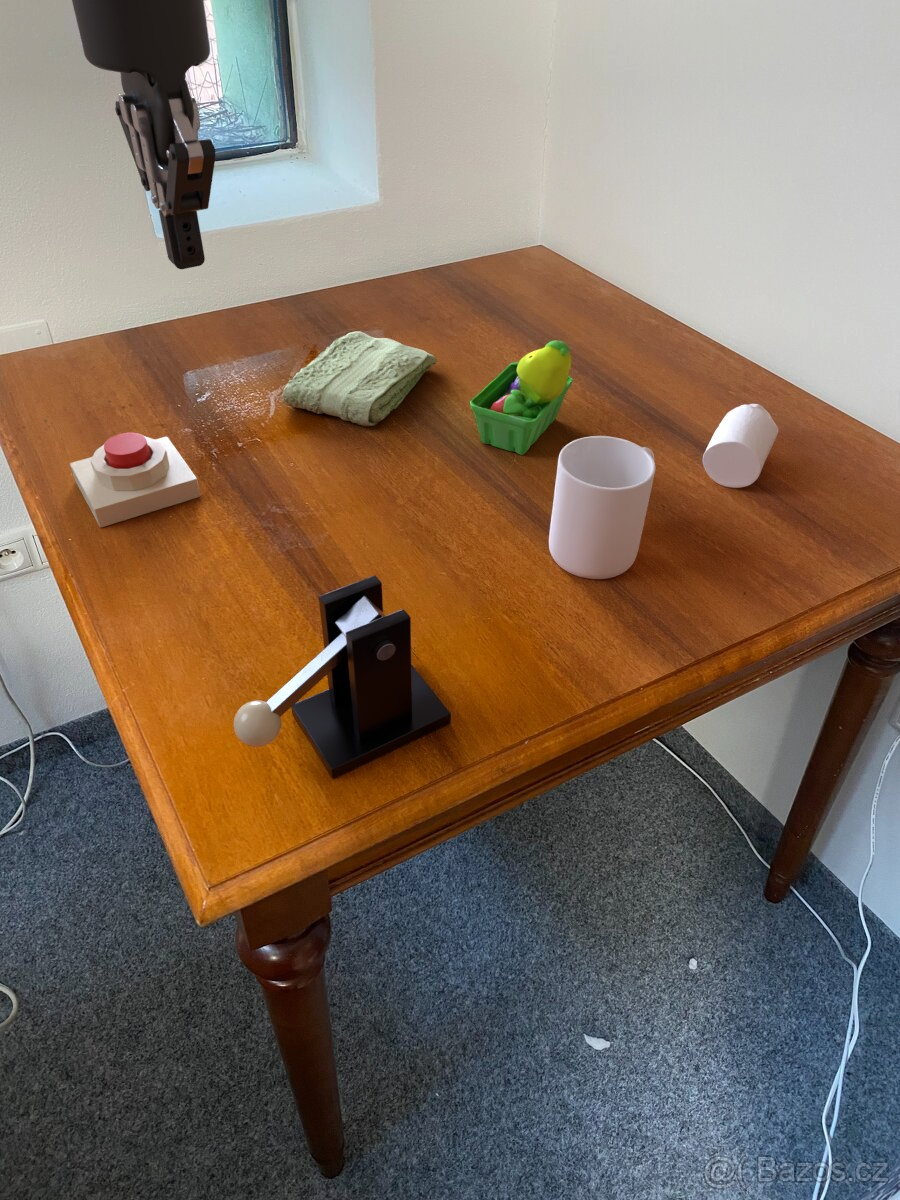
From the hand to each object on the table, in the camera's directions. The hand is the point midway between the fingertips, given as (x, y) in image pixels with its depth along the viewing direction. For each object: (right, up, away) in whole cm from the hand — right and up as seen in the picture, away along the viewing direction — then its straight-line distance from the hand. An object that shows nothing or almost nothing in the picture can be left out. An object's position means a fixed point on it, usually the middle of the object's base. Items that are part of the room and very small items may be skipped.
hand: (187, 263), depth 63 cm
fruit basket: (+27, -5, +35) cm, 45 cm away
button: (-13, -10, +23) cm, 28 cm away
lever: (+10, -30, -1) cm, 32 cm away
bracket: (+13, -33, +4) cm, 36 cm away
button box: (-13, -13, +26) cm, 31 cm away
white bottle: (+50, -9, +32) cm, 60 cm away
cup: (+33, -19, +21) cm, 44 cm away
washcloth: (+8, +1, +42) cm, 42 cm away
